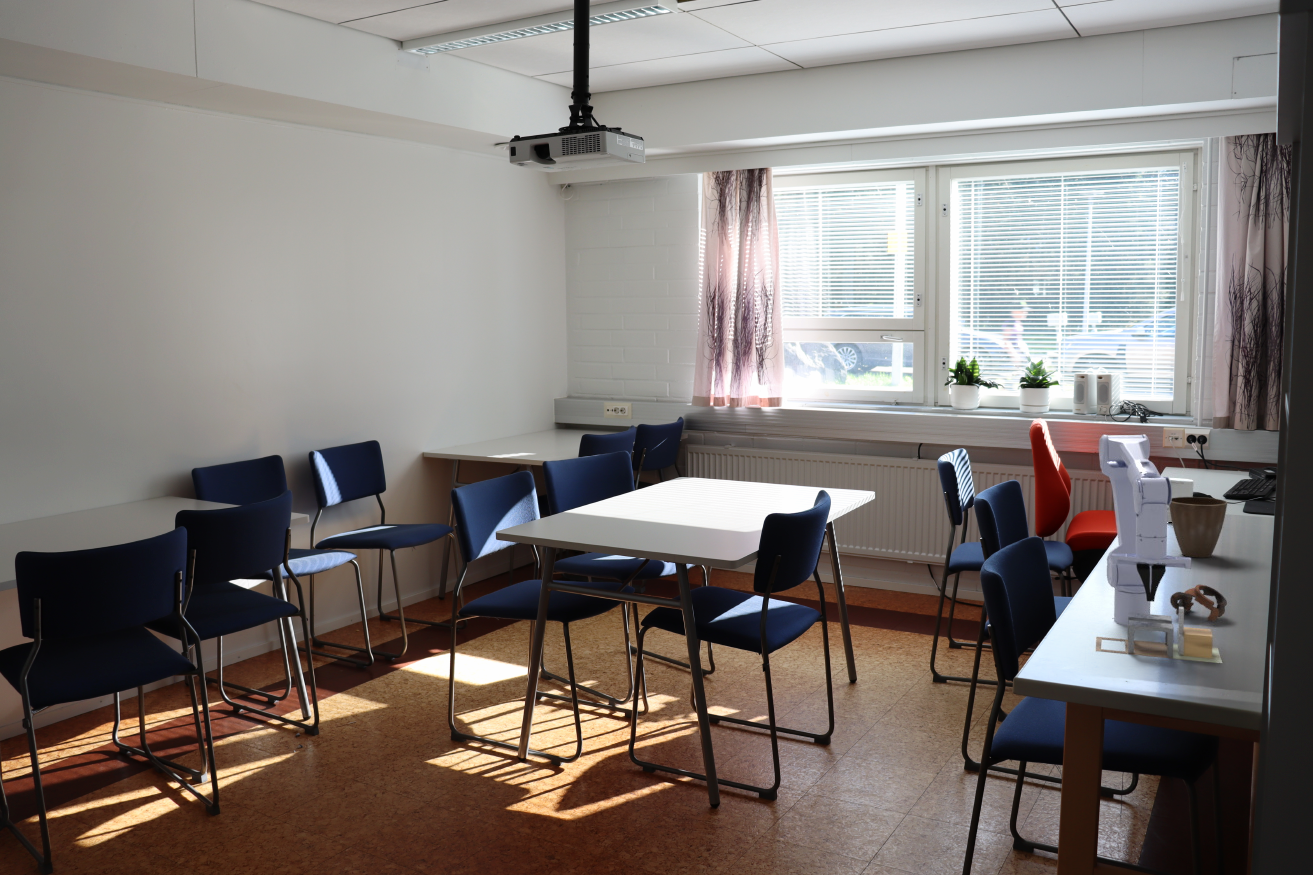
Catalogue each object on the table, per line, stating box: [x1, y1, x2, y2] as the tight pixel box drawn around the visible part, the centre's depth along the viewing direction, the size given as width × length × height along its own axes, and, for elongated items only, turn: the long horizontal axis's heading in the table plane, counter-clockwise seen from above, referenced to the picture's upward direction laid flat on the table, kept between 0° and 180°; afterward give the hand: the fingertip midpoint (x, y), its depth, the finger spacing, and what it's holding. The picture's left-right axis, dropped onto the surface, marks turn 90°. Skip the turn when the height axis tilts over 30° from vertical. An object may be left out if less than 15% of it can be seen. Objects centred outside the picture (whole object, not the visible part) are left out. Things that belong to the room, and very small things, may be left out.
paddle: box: [1176, 607, 1185, 655], centre depth 198 cm, size 6×1×9 cm, turn 155°
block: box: [1183, 626, 1214, 658], centre depth 197 cm, size 5×5×4 cm
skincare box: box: [1166, 477, 1194, 522], centre depth 332 cm, size 8×6×15 cm
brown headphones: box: [1169, 584, 1228, 622], centre depth 227 cm, size 12×9×8 cm
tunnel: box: [1127, 613, 1175, 659], centre depth 201 cm, size 9×8×6 cm
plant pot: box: [1169, 496, 1228, 559], centre depth 285 cm, size 15×15×16 cm
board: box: [1095, 636, 1223, 664], centre depth 201 cm, size 10×22×2 cm, turn 65°
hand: (1150, 600), depth 204 cm, fingers closed
